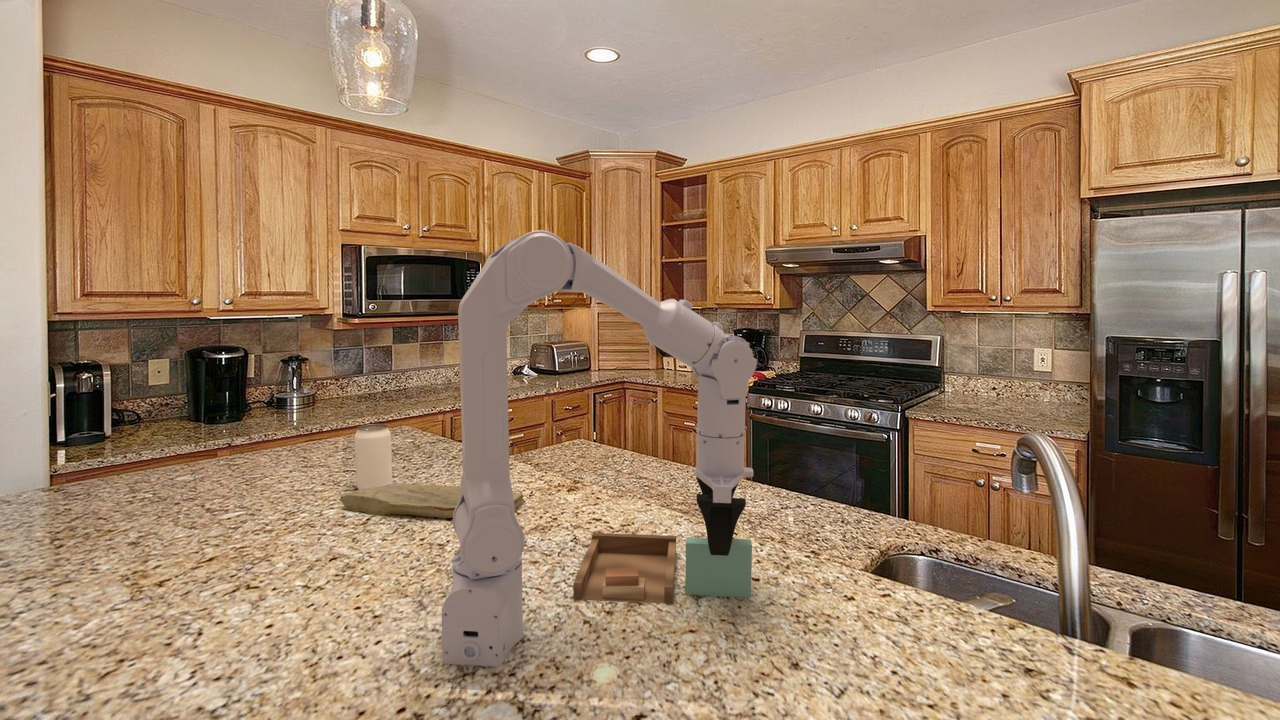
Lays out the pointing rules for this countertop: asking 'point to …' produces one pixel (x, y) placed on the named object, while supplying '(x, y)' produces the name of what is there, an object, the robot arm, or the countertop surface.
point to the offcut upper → (622, 577)
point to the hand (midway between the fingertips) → (718, 541)
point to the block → (718, 569)
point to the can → (373, 456)
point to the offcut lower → (625, 591)
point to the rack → (628, 565)
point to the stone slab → (409, 500)
